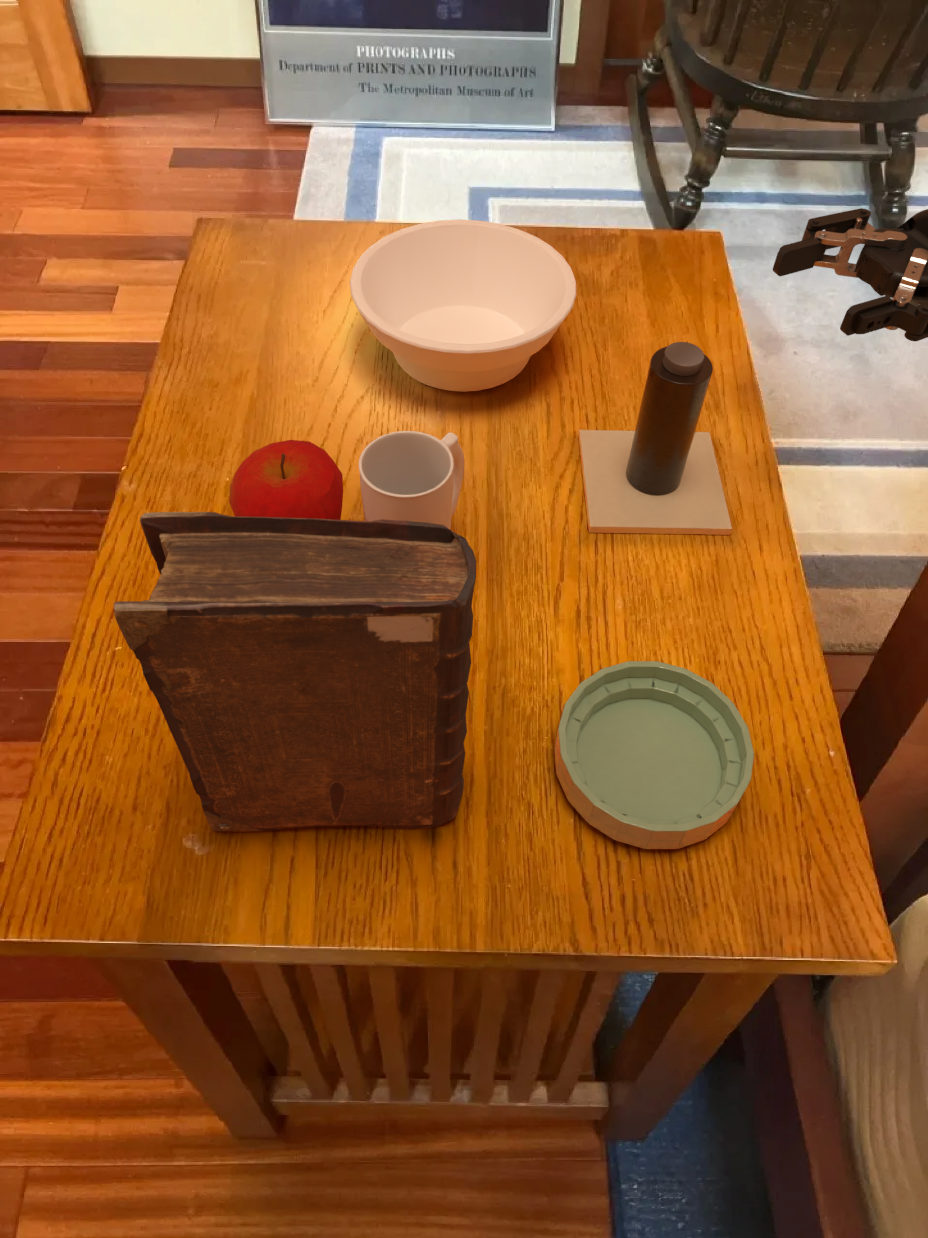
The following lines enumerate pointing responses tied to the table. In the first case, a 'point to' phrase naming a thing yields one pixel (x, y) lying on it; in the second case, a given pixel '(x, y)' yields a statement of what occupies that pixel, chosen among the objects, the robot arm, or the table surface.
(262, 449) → the apple
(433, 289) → the bowl
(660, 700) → the celadon bowl
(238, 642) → the book
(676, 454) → the thermos flask
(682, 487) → the tile
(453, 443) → the mug
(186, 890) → the table surface
